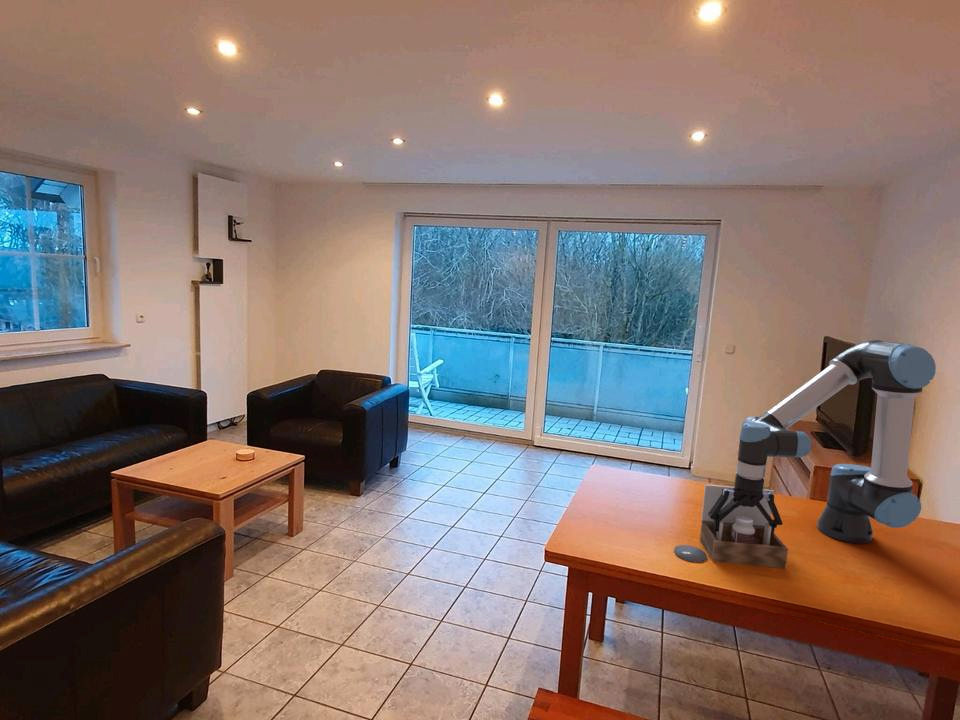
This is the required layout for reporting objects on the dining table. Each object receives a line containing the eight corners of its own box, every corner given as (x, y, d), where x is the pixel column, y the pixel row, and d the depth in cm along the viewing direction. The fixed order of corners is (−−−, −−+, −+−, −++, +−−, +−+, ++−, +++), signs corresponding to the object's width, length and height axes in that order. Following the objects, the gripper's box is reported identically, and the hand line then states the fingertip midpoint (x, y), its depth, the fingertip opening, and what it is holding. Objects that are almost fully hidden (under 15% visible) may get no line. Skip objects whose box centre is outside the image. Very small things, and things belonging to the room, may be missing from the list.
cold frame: (761, 540, 169) (766, 504, 167) (785, 568, 153) (790, 528, 151) (696, 534, 172) (700, 498, 170) (712, 561, 155) (717, 522, 153)
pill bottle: (756, 555, 159) (760, 520, 158) (744, 561, 156) (749, 525, 154) (736, 546, 164) (740, 512, 163) (725, 551, 161) (729, 517, 159)
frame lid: (768, 527, 165) (773, 490, 163) (769, 529, 164) (774, 491, 162) (701, 521, 167) (705, 484, 166) (702, 523, 166) (706, 485, 165)
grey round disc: (701, 548, 162) (701, 546, 162) (710, 563, 154) (710, 561, 153) (670, 545, 163) (671, 543, 163) (678, 560, 155) (678, 558, 154)
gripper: (789, 474, 159) (780, 541, 162) (702, 467, 162) (695, 533, 165) (801, 483, 151) (791, 553, 155) (709, 476, 154) (702, 545, 157)
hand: (741, 543), depth 160 cm, fingers open, 13 cm apart
